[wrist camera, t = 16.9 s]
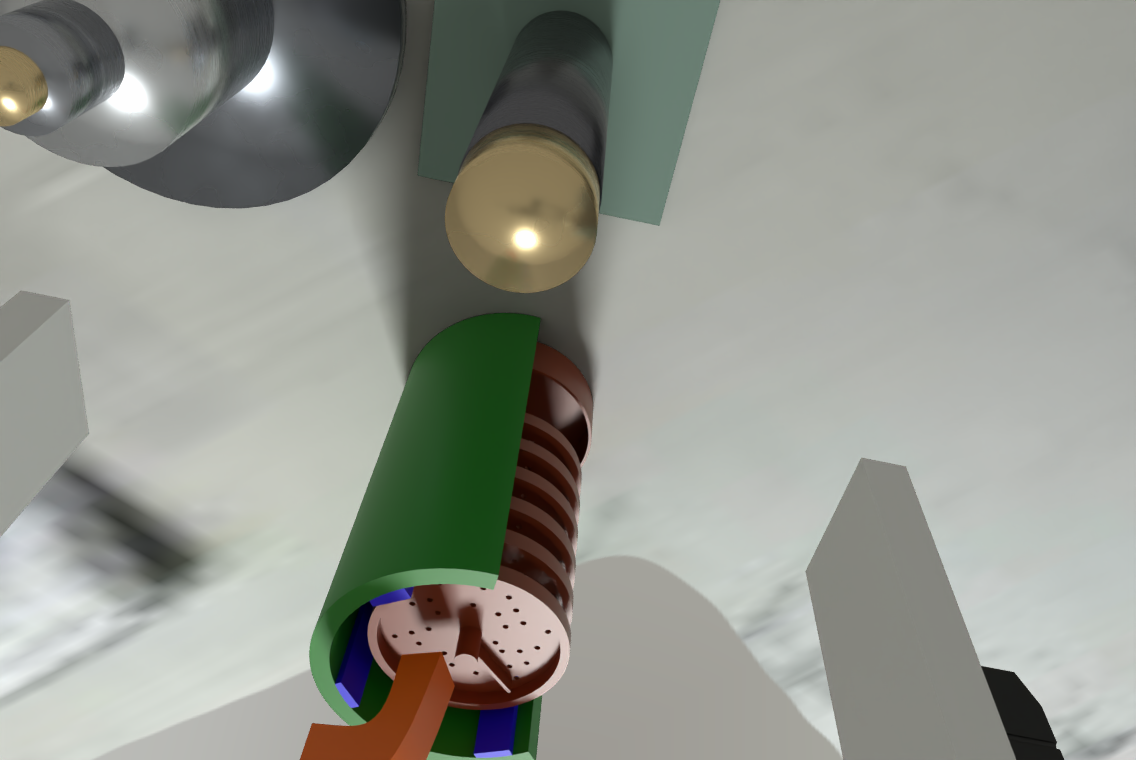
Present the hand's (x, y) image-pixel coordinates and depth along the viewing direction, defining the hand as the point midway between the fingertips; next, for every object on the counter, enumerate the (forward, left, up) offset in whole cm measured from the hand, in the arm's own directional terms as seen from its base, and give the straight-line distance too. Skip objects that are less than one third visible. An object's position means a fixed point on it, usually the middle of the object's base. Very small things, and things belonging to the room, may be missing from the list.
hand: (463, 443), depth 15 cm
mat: (0, 0, -22) cm, 23 cm away
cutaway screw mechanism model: (0, +16, -23) cm, 28 cm away
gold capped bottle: (0, -1, -22) cm, 22 cm away
